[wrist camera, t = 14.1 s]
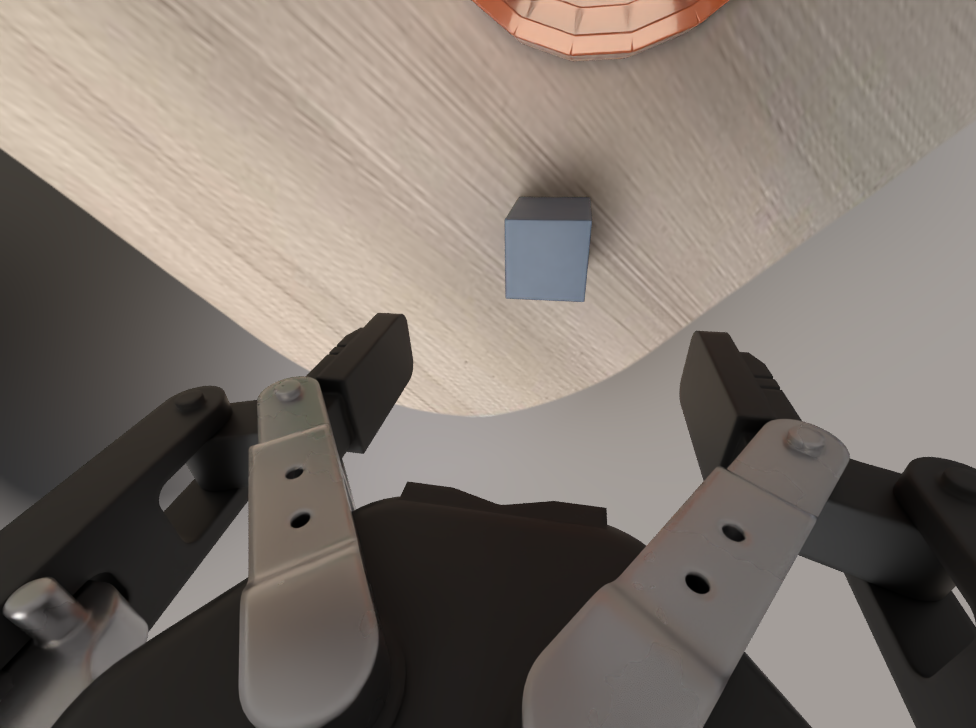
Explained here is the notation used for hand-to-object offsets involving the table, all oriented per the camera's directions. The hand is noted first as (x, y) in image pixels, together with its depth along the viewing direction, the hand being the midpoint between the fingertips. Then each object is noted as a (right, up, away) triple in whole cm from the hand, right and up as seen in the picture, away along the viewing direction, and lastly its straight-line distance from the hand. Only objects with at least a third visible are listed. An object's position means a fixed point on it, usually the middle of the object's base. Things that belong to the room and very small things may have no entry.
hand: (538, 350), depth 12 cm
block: (+3, +8, +16) cm, 18 cm away
